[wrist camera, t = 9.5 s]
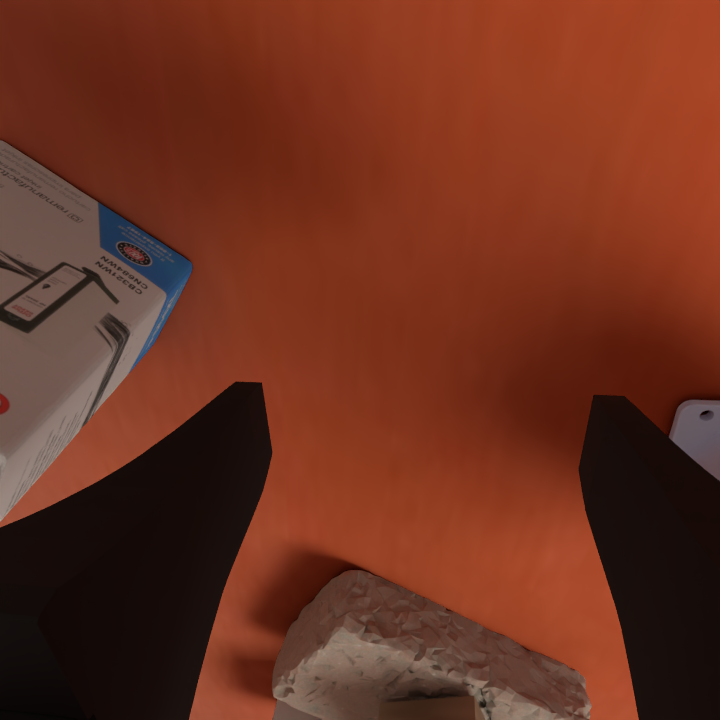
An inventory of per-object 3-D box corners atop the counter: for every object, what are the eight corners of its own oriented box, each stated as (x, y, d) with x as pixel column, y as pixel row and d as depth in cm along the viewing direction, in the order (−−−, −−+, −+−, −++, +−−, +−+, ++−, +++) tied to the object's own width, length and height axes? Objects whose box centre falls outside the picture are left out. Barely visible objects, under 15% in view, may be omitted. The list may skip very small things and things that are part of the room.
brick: (592, 668, 34) (610, 756, 30) (504, 724, 39) (510, 808, 35) (347, 548, 32) (332, 626, 28) (282, 622, 36) (261, 700, 32)
